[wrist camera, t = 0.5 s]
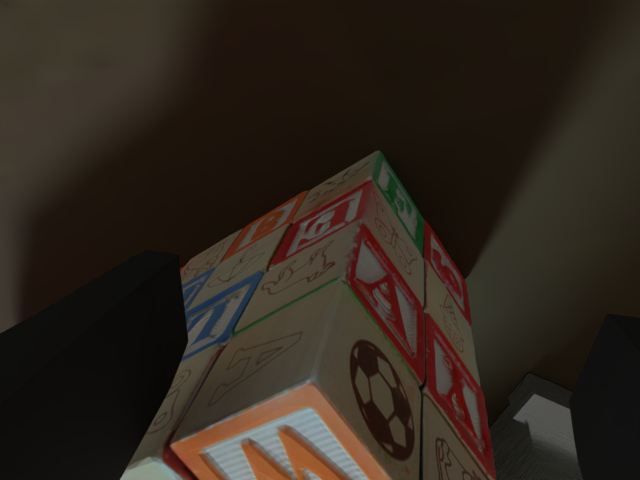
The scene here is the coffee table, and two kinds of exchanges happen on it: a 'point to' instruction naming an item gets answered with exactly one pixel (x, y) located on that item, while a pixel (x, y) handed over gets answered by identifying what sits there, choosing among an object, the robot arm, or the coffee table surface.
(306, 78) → the coffee table surface
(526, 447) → the pale grey flat frame
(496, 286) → the coffee table surface
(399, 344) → the stack of blocks
